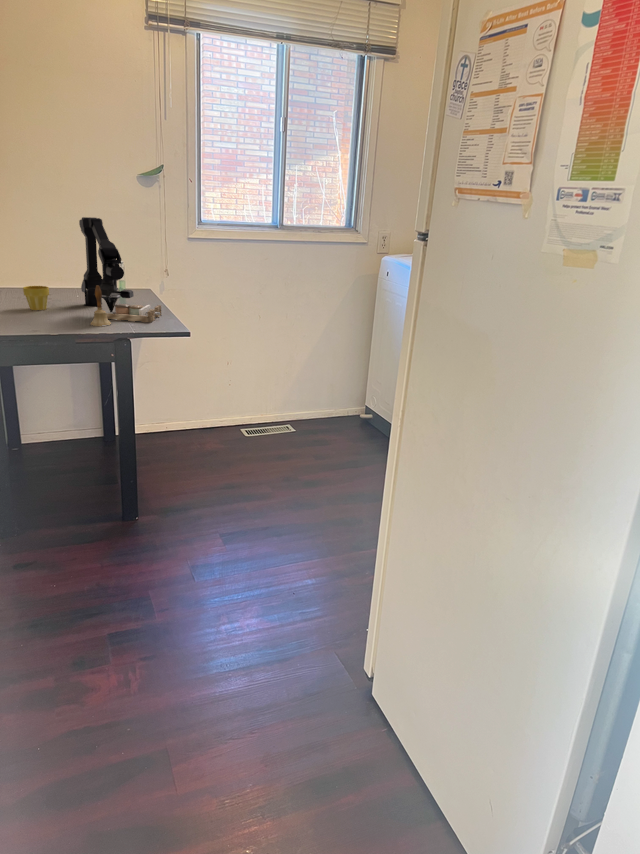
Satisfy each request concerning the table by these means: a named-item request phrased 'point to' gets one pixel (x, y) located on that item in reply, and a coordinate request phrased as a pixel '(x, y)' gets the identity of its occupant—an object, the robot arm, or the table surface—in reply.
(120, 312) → the jar
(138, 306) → the stock jar
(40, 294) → the plant pot
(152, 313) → the lane
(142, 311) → the peg stand
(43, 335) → the table surface
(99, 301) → the hand bell
